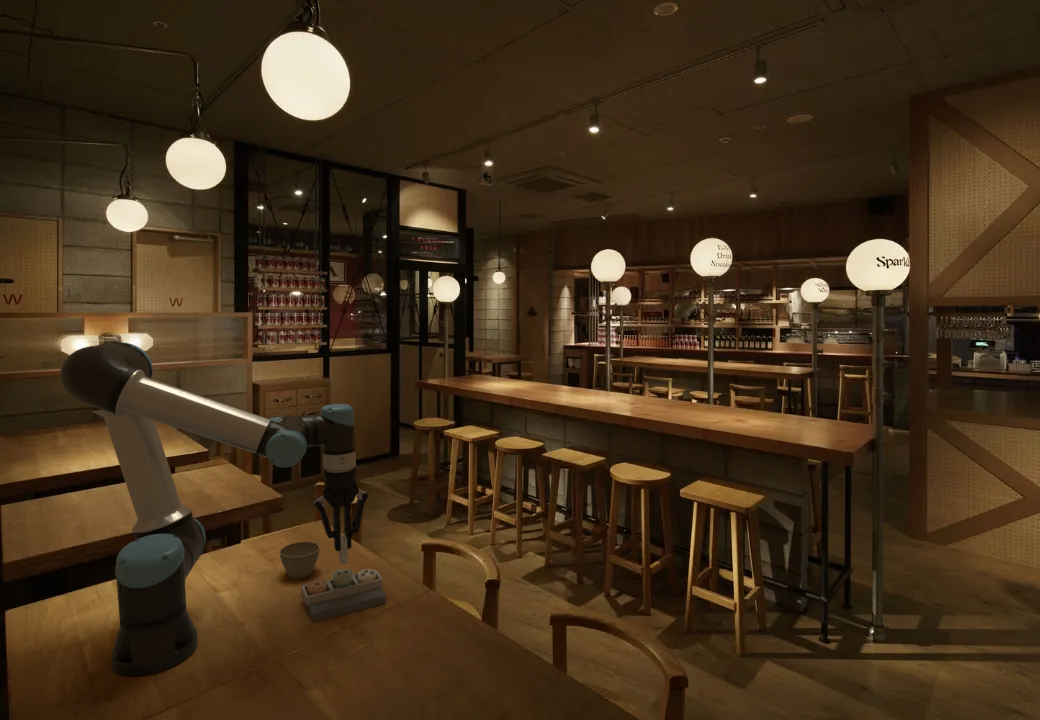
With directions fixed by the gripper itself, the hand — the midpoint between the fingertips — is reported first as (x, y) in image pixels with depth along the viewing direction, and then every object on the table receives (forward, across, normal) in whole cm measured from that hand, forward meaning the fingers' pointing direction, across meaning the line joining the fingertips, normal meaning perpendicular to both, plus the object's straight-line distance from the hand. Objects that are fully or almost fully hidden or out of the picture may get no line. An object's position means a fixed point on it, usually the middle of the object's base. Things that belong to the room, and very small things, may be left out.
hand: (343, 561), depth 142 cm
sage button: (+5, 0, 0) cm, 5 cm away
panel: (+9, 0, 0) cm, 9 cm away
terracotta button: (+7, -6, 0) cm, 9 cm away
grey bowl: (+9, -8, +18) cm, 22 cm away
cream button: (+7, +6, 0) cm, 9 cm away
